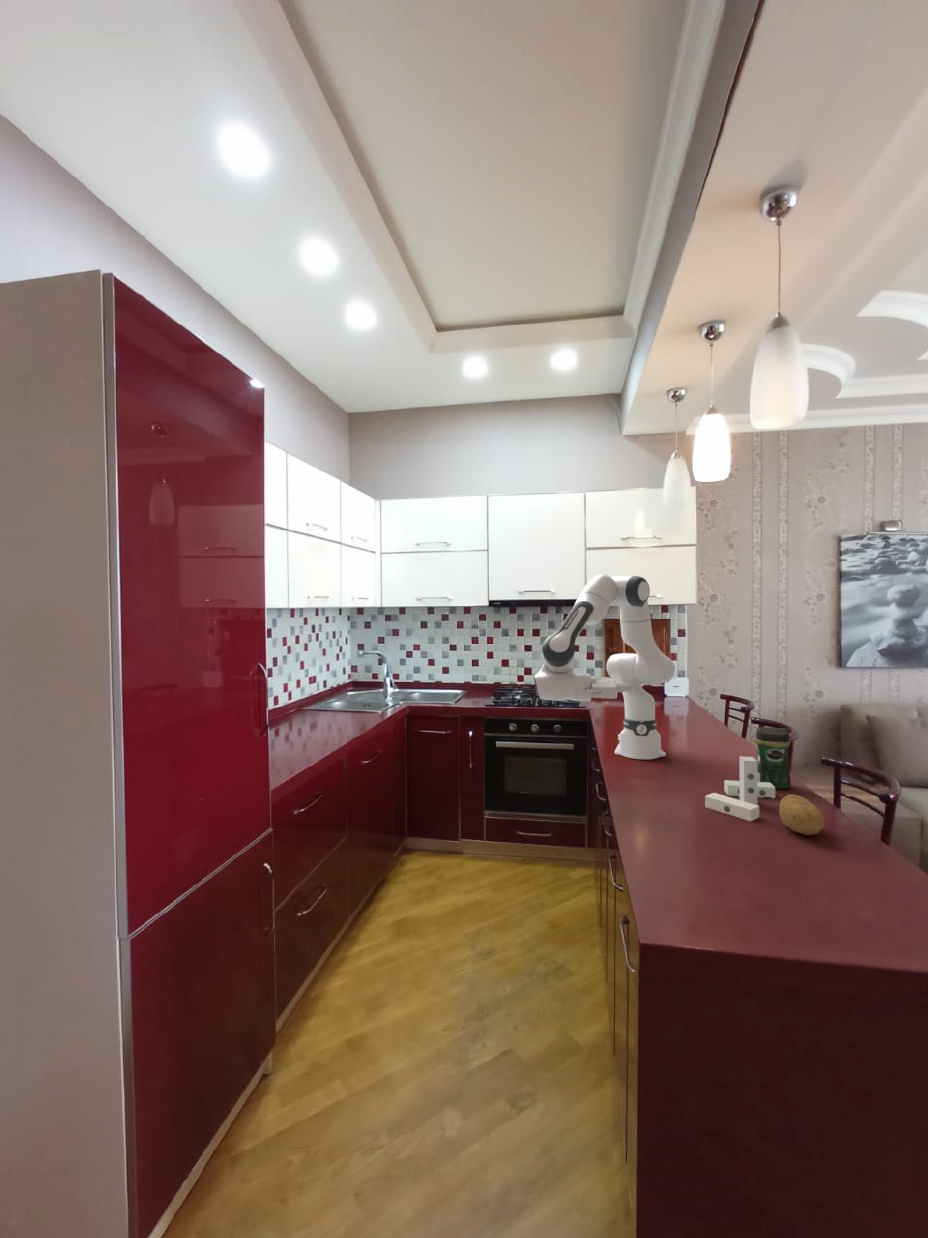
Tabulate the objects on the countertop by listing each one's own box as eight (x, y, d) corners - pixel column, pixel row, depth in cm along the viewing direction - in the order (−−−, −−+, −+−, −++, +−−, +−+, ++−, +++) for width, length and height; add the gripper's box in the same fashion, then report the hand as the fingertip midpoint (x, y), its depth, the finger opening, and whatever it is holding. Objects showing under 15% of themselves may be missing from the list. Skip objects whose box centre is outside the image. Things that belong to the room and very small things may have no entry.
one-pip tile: (713, 792, 159) (759, 805, 148) (713, 804, 159) (759, 818, 148) (704, 796, 156) (750, 810, 145) (704, 808, 156) (750, 822, 145)
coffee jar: (787, 783, 175) (787, 726, 174) (793, 791, 167) (793, 731, 167) (753, 780, 178) (753, 724, 178) (757, 788, 171) (757, 729, 170)
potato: (789, 842, 133) (789, 809, 133) (771, 819, 146) (771, 790, 146) (834, 845, 130) (834, 812, 130) (812, 822, 144) (812, 792, 144)
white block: (724, 780, 169) (770, 782, 166) (724, 791, 169) (770, 794, 167) (728, 785, 165) (775, 787, 162) (728, 796, 165) (775, 799, 162)
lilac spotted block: (739, 800, 161) (739, 756, 161) (752, 800, 160) (752, 756, 160) (744, 805, 156) (744, 761, 156) (757, 806, 156) (757, 761, 155)
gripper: (585, 682, 163) (633, 682, 161) (584, 673, 183) (627, 673, 181) (586, 703, 164) (634, 704, 161) (584, 692, 184) (627, 692, 181)
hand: (630, 688), depth 171 cm, fingers closed
